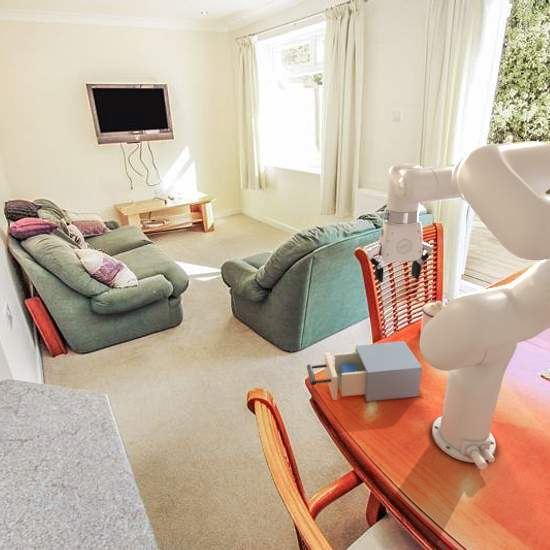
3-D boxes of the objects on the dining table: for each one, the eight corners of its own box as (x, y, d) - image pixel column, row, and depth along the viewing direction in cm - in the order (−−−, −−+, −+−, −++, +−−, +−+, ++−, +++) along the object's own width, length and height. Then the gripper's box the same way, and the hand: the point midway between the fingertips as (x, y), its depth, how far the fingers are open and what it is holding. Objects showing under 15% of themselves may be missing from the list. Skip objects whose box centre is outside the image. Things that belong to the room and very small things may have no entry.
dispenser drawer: (312, 402, 95) (311, 379, 92) (306, 375, 104) (305, 354, 101) (381, 395, 95) (382, 372, 93) (368, 369, 105) (369, 348, 102)
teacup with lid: (445, 344, 115) (450, 311, 110) (415, 336, 120) (419, 304, 116) (456, 327, 123) (461, 296, 119) (428, 319, 129) (431, 289, 124)
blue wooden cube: (358, 385, 98) (359, 372, 96) (343, 386, 98) (343, 374, 96) (354, 375, 102) (355, 363, 100) (340, 376, 101) (340, 364, 100)
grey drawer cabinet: (366, 401, 95) (368, 372, 91) (354, 372, 106) (355, 345, 102) (419, 396, 96) (422, 367, 92) (401, 367, 106) (404, 340, 103)
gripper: (372, 223, 88) (369, 287, 95) (443, 217, 89) (435, 281, 96) (363, 215, 95) (361, 276, 102) (429, 209, 96) (422, 270, 103)
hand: (397, 278), depth 99 cm, fingers open, 9 cm apart
